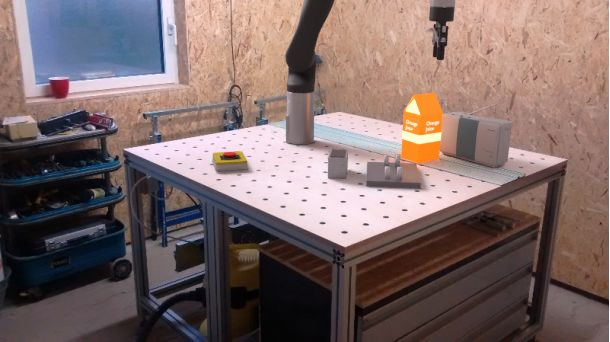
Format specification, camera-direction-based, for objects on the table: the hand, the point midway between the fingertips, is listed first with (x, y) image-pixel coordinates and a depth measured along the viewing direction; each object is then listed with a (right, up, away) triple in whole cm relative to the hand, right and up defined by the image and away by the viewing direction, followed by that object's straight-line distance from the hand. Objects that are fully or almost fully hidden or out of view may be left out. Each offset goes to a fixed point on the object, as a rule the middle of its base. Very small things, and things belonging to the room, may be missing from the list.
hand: (438, 58), depth 176 cm
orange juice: (-7, -32, -5) cm, 33 cm away
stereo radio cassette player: (+9, -32, -6) cm, 34 cm away
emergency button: (-64, -35, -13) cm, 74 cm away
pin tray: (-18, -37, -23) cm, 48 cm away
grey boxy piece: (-33, -36, -21) cm, 53 cm away
